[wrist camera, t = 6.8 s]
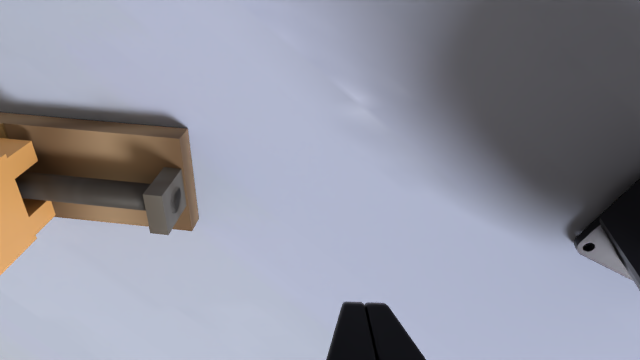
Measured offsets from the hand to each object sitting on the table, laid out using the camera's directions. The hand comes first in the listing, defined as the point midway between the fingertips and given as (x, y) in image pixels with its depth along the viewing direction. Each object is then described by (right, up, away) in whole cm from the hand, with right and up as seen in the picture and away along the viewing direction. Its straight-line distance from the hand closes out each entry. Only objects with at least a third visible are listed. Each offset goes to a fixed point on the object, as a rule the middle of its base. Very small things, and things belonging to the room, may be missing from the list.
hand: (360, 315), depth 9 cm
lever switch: (-12, +3, +13) cm, 18 cm away
